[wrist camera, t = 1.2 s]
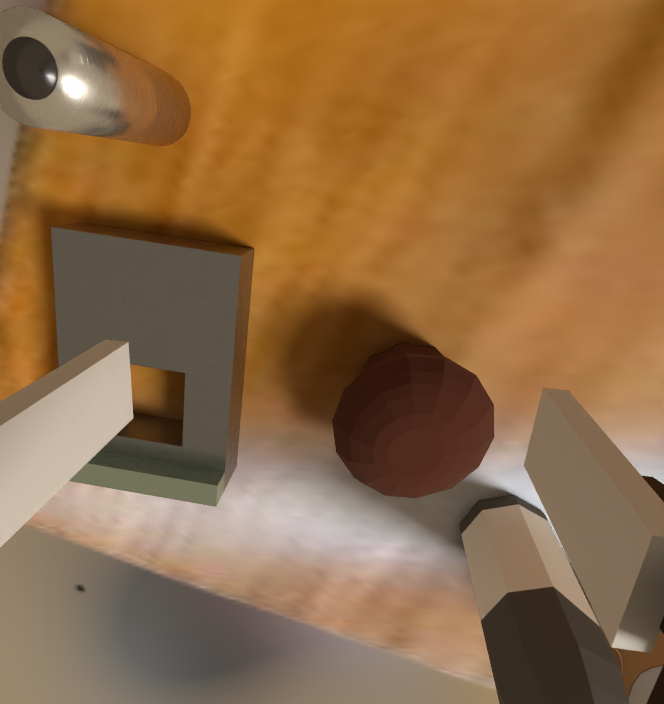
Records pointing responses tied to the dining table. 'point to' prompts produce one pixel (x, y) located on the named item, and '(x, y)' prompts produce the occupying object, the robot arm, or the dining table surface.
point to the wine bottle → (535, 611)
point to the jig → (160, 348)
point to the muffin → (413, 422)
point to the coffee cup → (639, 669)
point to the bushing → (84, 83)
